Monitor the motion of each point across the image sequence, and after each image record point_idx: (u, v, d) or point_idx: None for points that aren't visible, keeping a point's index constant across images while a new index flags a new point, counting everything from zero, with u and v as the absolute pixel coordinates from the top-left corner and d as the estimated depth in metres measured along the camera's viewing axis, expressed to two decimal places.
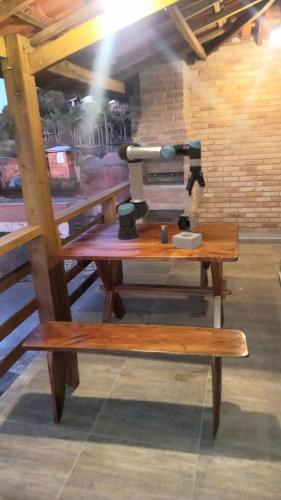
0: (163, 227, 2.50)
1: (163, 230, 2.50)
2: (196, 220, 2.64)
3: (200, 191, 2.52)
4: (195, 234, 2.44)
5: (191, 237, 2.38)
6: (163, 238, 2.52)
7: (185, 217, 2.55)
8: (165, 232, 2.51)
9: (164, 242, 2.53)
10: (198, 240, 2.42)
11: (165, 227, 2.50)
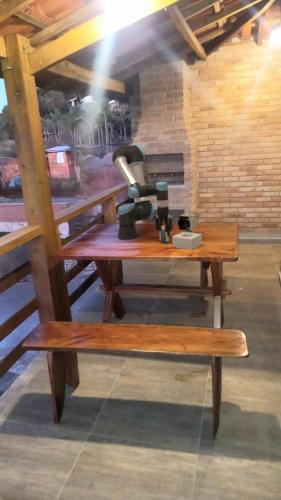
0: (163, 227, 2.50)
1: (163, 230, 2.50)
2: (196, 220, 2.64)
3: None
4: (195, 234, 2.44)
5: (191, 237, 2.38)
6: (163, 238, 2.52)
7: (185, 217, 2.55)
8: (165, 232, 2.51)
9: (164, 242, 2.53)
10: (198, 240, 2.42)
11: (165, 227, 2.50)
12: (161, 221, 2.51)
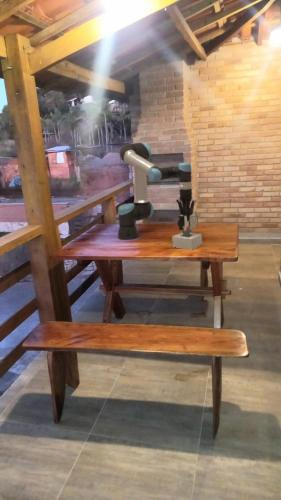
0: (185, 228, 2.40)
1: (185, 231, 2.41)
2: (196, 220, 2.64)
3: None
4: (195, 234, 2.44)
5: (191, 237, 2.38)
6: None
7: None
8: (187, 233, 2.41)
9: None
10: (198, 240, 2.42)
11: (187, 228, 2.40)
12: (185, 205, 2.38)
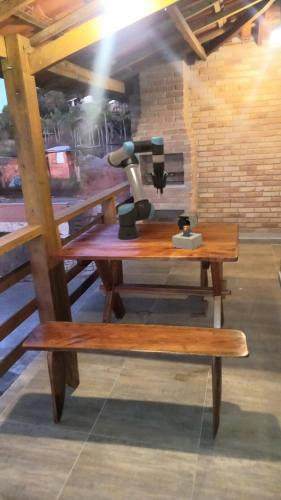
0: (186, 228, 2.40)
1: (186, 231, 2.41)
2: (196, 220, 2.64)
3: None
4: (195, 234, 2.44)
5: (191, 237, 2.38)
6: None
7: (185, 217, 2.55)
8: (188, 233, 2.41)
9: None
10: (198, 240, 2.42)
11: (188, 228, 2.40)
12: (158, 178, 2.46)
